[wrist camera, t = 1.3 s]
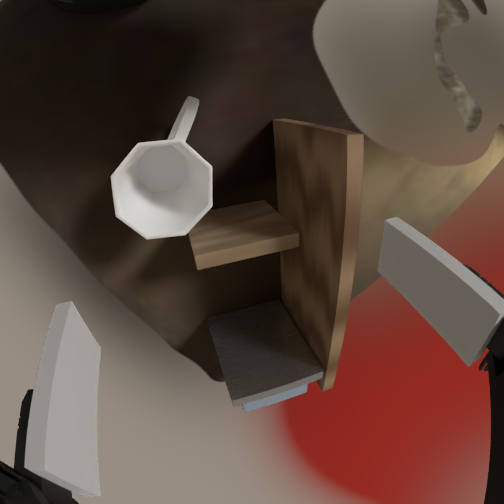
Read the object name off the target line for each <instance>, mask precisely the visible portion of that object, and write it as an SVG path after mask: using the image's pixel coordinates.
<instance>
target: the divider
mask: <svg viewBox="0 0 504 504" xmlns="http://www.w3.org/2000/svg"><path fill="white" fill-rule="evenodd" d="M188 235H189V239H190V243H191V247H192V251H193V255H194V259H195V262H196V266H197V270H201V269H205V268H209V267H214V266H218V265H222V264H227V263H231V262H235V261H240V260H244V259H248V258H253V257H257V256H261V255H265V254H270V253H274V252H278V251H283V250H287V249H291V248H295V247H299V232H298V231H297V230H296V229H295V228H293V227H292V226H291V225H290V224H289V223H288V222H287V221H286V220H285V219H284V218H283V217H282V216H281V215H280V214H279V213H278V212H277V211H276V210H275V209H274V208H273V207H272V206H271V205H269V204H268V203H267V202H266V201H265V200H260V201H255V202H249V203H244V204H239V205H234V206H229V207H223V208H218V209H213V210H209V211H208V212H207V213H206V214H205V215H204V216H203V217H202V218H201V219H200V220H199V221H198V222H197V223H196V225H195V226H194V227H193V228H192V229H191V230H190V231H189V232H188Z"/></svg>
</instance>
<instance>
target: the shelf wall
mask: <svg viewBox="0 0 504 504" xmlns="http://www.w3.org/2000/svg"><path fill="white" fill-rule="evenodd" d="M273 131H274V146H275V162H276V178H277V197H278V213H279V214H280V215H281V216H282V217H283V218H284V219H285V220H286V221H287V222H288V223H289V224H290V225H291V226H292V227H293V228H295V229H296V230H297V231H298V232H299V247H295V248H291V249H287V250H283V251H280V264H281V295H282V305H283V307H284V309H285V310H286V312H287V313H288V315H289V317H290V318H291V320H292V322H293V323H294V325H295V326H296V328H297V330H298V331H299V333H300V335H301V336H302V338H303V339H304V341H305V343H306V344H307V346H308V348H309V349H310V351H311V352H312V354H313V356H314V357H315V359H316V360H317V362H318V364H319V365H320V367H321V369H322V370H323V375H322V378H321V379H319V380H316V381H317V383H318V384H319V386H320V388H321V389H322V391H325V390H328V389H330V388H332V387H333V384H334V380H335V375H336V371H337V366H338V362H339V357H340V352H341V347H342V342H343V337H344V332H345V327H346V321H347V315H348V309H349V303H350V297H351V290H352V283H353V276H354V268H355V260H356V252H357V243H358V233H359V222H360V209H361V195H362V176H363V138H364V135H363V134H359V133H355V132H351V131H347V130H342V129H338V128H333V127H328V126H323V125H318V124H313V123H307V122H302V121H296V120H290V119H274V120H273Z"/></svg>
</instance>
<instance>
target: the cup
mask: <svg viewBox="0 0 504 504" xmlns="http://www.w3.org/2000/svg"><path fill="white" fill-rule="evenodd" d="M198 106H199V99H196V98H194V97H191V96H188V97H187V99H186V100H185V102H184V104H183V106H182V108H181V110H180V112H179V114H178V116H177V118H176V121H175V123H174V125H173V127H172V130H171V132H170V134H169V137H168V139H167V140H162V141H151V142H141V143H137V145H136V146H135V147H134V148H133V149H132V151H131V152H130V153H129V154H128V155H127V157H126V158H125V159H124V160H123V161H122V163H121V164H120V165H119V166H118V168H117V169H116V170H115V171H114V173H113V174H112V175H111V184H112V192H113V200H114V208H115V215H116V217H117V218H119V219H120V220H121V221H123V222H124V223H125V224H127V225H128V226H129V227H131V228H132V229H133V230H135V231H136V232H137V233H139V234H140V235H141V236H143V237H144V238H146V239H155V238H164V237H173V236H183V235H186V234H187V233H188V232H189V231H190V230H191V229H192V228H193V227H194V226H195V225H196V223H197V222H198V221H199V220H200V219H201V218H202V217H203V216H204V215H205V214H206V213H207V212H208V211H209V210H210V208H211V207H212V206H213V201H212V166H211V165H210V164H209V163H208V162H207V161H205V160H204V159H203V158H202V157H201V156H200V155H199V154H198V153H197V152H196V151H194V150H193V149H192V148H191V147H190V146H189V145H188V144H187V143H186V142H185V141H186V138H187V136H188V134H189V131H190V129H191V126H192V124H193V121H194V118H195V116H196V113H197V109H198Z"/></svg>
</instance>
